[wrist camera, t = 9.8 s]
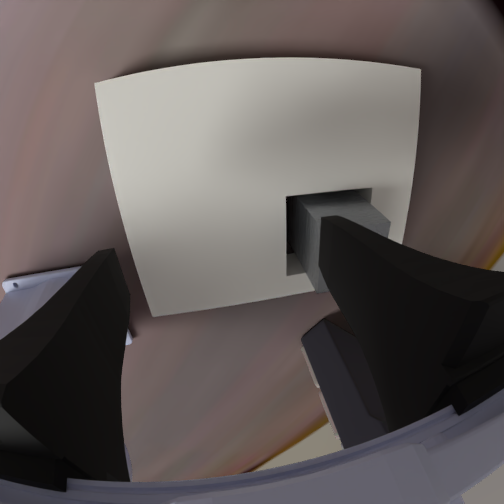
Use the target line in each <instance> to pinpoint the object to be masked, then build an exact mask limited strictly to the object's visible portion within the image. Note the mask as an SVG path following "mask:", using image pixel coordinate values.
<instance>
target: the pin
mask: <svg viewBox="0 0 504 504" xmlns="http://www.w3.org/2000/svg"><path fill="white" fill-rule="evenodd" d="M333 215H338V216H341V217H344V218H346V219H349V220H351V221H353V222H355V223H357V224H359V225H362V226H364V227H366V228H368V229H370V230H372V231H374V232H376V233H378V234H380V235H382V236H384V237H386V238H388V235H389V230H390V225H391V221H389V220H388V219H387V218H386V217H385V216H384V215H383V214H382V213H381V212H379V211H378V210H377V209H376V208H375V207H374V206H373V205H371V204H370V203H369V202H368V201H367V200H366V199H364V198H363V197H362V196H361V195H360V194H359V193H357V192H356V191H355V190H354V189H351V190H340V191H330V192H321V193H311V194H302V195H293V196H288V241H289V243H290V245H291V247H292V249H293V250H294V252H295V254H296V256H297V258H298V260H299V261H300V263H301V265H302V267H303V269H304V271H305V273H306V274H307V276H308V278H309V280H310V282H311V284H312V286H313V287H314V289H315V291H316V293H323V292H328V291H329V289H328V287H327V285H326V283H325V281H324V278H323V276H322V273H321V271H320V268H319V266H318V261H319V245H320V227H321V217H326V216H333Z"/></svg>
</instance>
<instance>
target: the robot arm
mask: <svg viewBox="0 0 504 504" xmlns="http://www.w3.org/2000/svg"><path fill="white" fill-rule="evenodd" d="M318 266H319V268H320V271H321V273H322V276H323V278H324V281H325V283H326V285H327V287H328V289H329V291H330V293H331V294H332V296H333V298H334V300H335V301H336V303H337V305H338V306H339V308H340V310H341V311H342V313H343V315H344V316H345V318H346V320H347V322H348V323H349V325H350V327H351V328H352V330H353V332H354V334H355V336H356V338H357V340H358V342H359V344H360V346H361V348H362V351H363V353H364V356H365V358H366V361H367V363H368V366H369V368H370V371H371V374H372V376H373V379H374V382H375V385H376V388H377V391H378V394H379V397H380V400H381V404H382V407H383V410H384V414H385V418H386V422H387V426H388V430H389V433H388V434H386V435H383V436H381V437H378V438H376V439H373V440H370V441H367V442H365V443H362V444H359V445H356V446H353V447H350V448H347V449H344V450H341V451H338V452H335V453H331V454H328V455H324V456H321V457H317V458H314V459H309V460H306V461H302V462H298V463H293V464H289V465H285V466H281V467H276V468H271V469H266V470H261V471H255V472H249V473H243V474H237V475H230V476H223V477H215V478H206V479H195V480H183V481H165V482H132V464H131V460H130V457H129V453H128V450H127V447H126V445H125V443H124V438H123V428H122V412H121V375H122V366H123V358H124V351H125V345H129V344H131V343H132V340H133V339H132V336H131V334H130V331H129V329H128V325H129V316H130V293H129V290H128V288H127V285H126V282H125V279H124V276H123V273H122V270H121V267H120V265H119V262H118V258H117V255H116V252H115V249H114V248H112V249H107V250H101V251H98V252H96V253H95V254H94V255H93V256H92V257H91V258H90V259H89V260H88V261H86V263H85V264H84V265H83V266H79V267H73V268H67V269H61V270H55V271H49V272H43V273H37V274H31V275H26V276H20V277H14V278H8V279H5V280H4V281H3V283H2V286H3V288H4V290H5V292H6V294H5V296H4V298H3V300H2V301H1V303H0V504H465V503H464V501H463V499H462V496H461V495H462V494H463V493H465V492H466V491H468V490H469V489H471V488H472V487H473V486H475V485H476V484H478V483H479V482H480V481H482V480H483V479H485V478H486V477H487V476H489V475H490V474H491V473H492V472H494V471H495V470H496V469H497V468H499V467H500V466H501V465H503V464H504V272H499V271H491V270H485V269H480V268H475V267H470V266H466V265H461V264H457V263H454V262H450V261H447V260H443V259H440V258H437V257H433V256H431V255H428V254H425V253H422V252H419V251H417V250H414V249H412V248H409V247H407V246H404V245H402V244H400V243H398V242H395V241H393V240H391V239H389V238H386V237H384V236H382V235H380V234H378V233H376V232H374V231H372V230H370V229H368V228H366V227H364V226H362V225H359V224H357V223H355V222H353V221H351V220H349V219H346V218H344V217H341V216H338V215H333V216H326V217H321V227H320V245H319V261H318ZM16 283H17V284H18V285H17V284H16Z"/></svg>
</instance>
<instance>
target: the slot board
mask: <svg viewBox="0 0 504 504" xmlns="http://www.w3.org/2000/svg"><path fill="white" fill-rule="evenodd" d="M95 90H96V97H97V104H98V110H99V116H100V122H101V128H102V133H103V138H104V143H105V149H106V153H107V158H108V163H109V168H110V172H111V177H112V181H113V185H114V189H115V194H116V198H117V202H118V206H119V209H120V213H121V217H122V221H123V225H124V228H125V232H126V235H127V239H128V242H129V246H130V249H131V253H132V256H133V259H134V263H135V266H136V269H137V272H138V275H139V278H140V281H141V285H142V288H143V291H144V294H145V297H146V299H147V302H148V305H149V308H150V311H151V314H152V317H157V316H165V315H172V314H179V313H186V312H193V311H199V310H206V309H212V308H219V307H225V306H231V305H237V304H243V303H249V302H255V301H261V300H267V299H272V298H278V297H284V296H289V295H294V294H300V293H305V292H310V291H315V289H314V287H313V286H312V284H311V282H310V280H309V278H308V276H307V274H306V273H305V271H304V269H303V267H302V265H301V263H300V261H299V260H298V258H297V256H296V254H295V253H290V254H286V196H293V195H302V194H311V193H321V192H330V191H340V190H351V189H354V190H355V191H356V192H357V193H359V194H360V195H361V196H362V197H363V198H364V199H366V200H367V201H368V202H369V203H370V204H371V205H373V206H374V207H375V208H376V209H377V210H378V211H379V212H381V213H382V214H383V215H384V216H385V217H386V218H387V219H388V220H389V221H391V225H390V230H389V235H388V238H389V239H391V240H393V241H395V242H398V243H400V244H402V241H403V236H404V231H405V225H406V220H407V214H408V208H409V202H410V196H411V189H412V182H413V175H414V167H415V159H416V149H417V139H418V127H419V113H420V92H421V69H417V68H411V67H405V66H399V65H392V64H384V63H376V62H367V61H357V60H345V59H329V58H252V59H235V60H223V61H213V62H203V63H195V64H188V65H180V66H174V67H168V68H162V69H156V70H151V71H145V72H140V73H135V74H131V75H126V76H122V77H117V78H113V79H109V80H105V81H101V82H98V83H95Z"/></svg>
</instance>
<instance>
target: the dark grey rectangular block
mask: <svg viewBox="0 0 504 504" xmlns="http://www.w3.org/2000/svg"><path fill="white" fill-rule="evenodd" d="M301 341H302V344H303V346H302V347H301V350H302V352H303V355H304V357H305V360H306V363H307V365H308V368H309V370H310V373H311V375H312V378H313V381H314V383H315V385H316V386H317V387H318V388H320V389H321V391H320V392H319V396H320V399H321V401H322V404H323V406H324V409H325V412H326V414H327V417H328V419H329V422H330V425H331V427H332V429H333V432H334V435H335V437H336V438H337V439H339V440H341V442H342V443H341V447H342V450H344V449H347V448H350V447H353V446H356V445H359V444H362V443H365V442H367V441H370V440H373V439H376V438H378V437H381V436H383V435H386V434H388V433H389V430H388V426H387V422H386V418H385V414H384V410H383V407H382V404H381V400H380V397H379V394H378V391H377V388H376V385H375V382H374V379H373V376H372V374H371V371H370V368H369V366H368V363H367V361H366V358H365V356H364V353H363V351H362V348H361V346H360V344H359V342H358V340H357V338H356V337H354V336H353V335H351V334H349V333H348V332H346V331H344V330H343V329H341V328H339V327H338V326H336V325H334V324H333V323H331V322H329V321H328V320H326V319H323V320H322V321H320V322H319V323H318V324H317V325H316V326H315V327H314V328H312V329H311V330H310V331H309V332H308V333H307V334H305V335H304V336H303V337H302V338H301Z"/></svg>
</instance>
